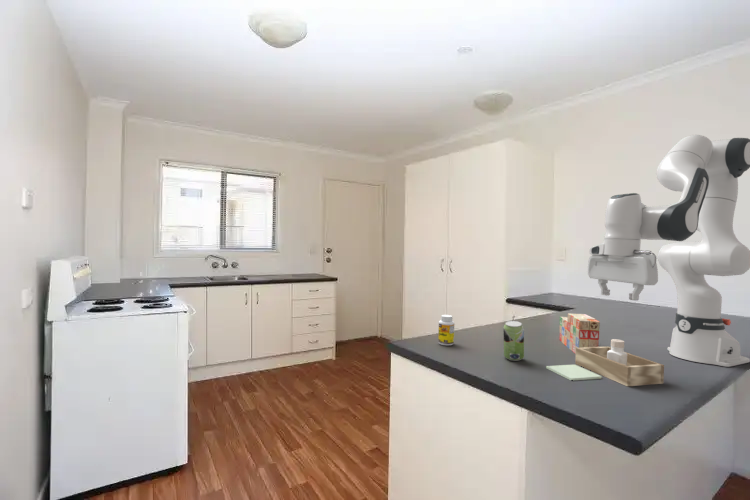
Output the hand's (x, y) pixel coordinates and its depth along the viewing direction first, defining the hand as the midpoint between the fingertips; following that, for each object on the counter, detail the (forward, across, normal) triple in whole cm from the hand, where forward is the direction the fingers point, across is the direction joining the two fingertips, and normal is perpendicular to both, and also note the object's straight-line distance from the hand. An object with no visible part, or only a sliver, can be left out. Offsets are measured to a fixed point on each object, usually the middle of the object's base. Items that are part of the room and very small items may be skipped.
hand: (618, 297), depth 107 cm
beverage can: (+22, +16, +23) cm, 36 cm away
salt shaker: (+22, 0, 0) cm, 22 cm away
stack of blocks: (+22, +24, -9) cm, 34 cm away
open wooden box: (+22, 0, 0) cm, 22 cm away
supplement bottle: (+23, +36, +37) cm, 56 cm away
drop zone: (+22, +2, +13) cm, 26 cm away
